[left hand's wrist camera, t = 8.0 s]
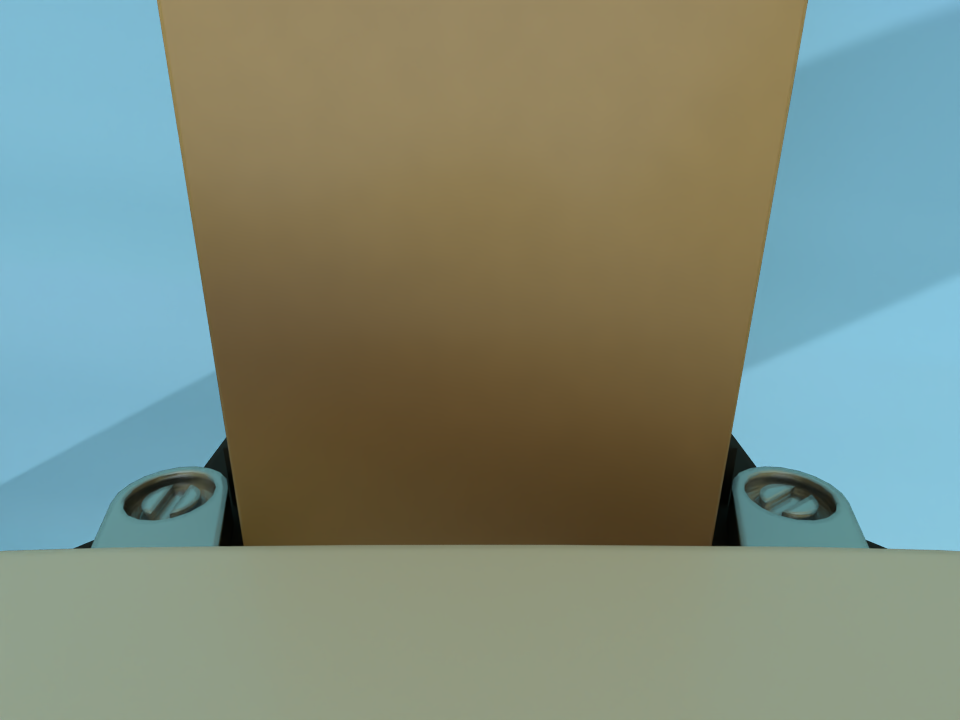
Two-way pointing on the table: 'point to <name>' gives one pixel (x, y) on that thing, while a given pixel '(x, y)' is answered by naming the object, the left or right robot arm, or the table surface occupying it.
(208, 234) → the bar
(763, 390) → the table surface
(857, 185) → the table surface
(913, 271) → the table surface
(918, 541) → the table surface
